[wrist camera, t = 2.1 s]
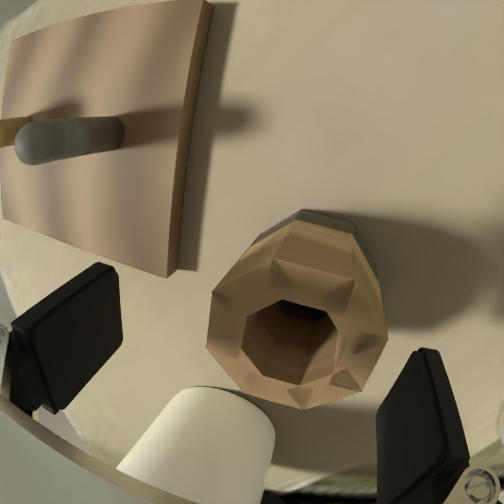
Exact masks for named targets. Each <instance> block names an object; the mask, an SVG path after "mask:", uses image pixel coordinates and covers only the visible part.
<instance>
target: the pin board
mask: <svg viewBox="0 0 504 504" xmlns="http://www.w3.org/2000/svg"><path fill="white" fill-rule="evenodd" d="M212 11H213V6H212V5H211V4H210V3H208V2H207V1H206V0H176V1H166V2H157V3H150V4H143V5H136V6H130V7H125V8H119V9H114V10H109V11H105V12H100V13H96V14H92V15H88V16H84V17H80V18H76V19H73V20H69V21H66V22H62V23H59V24H56V25H53V26H50V27H47V28H44V29H41V30H38V31H35V32H33V33H30V34H27V35H25V36H22V37H19V38H17V39H14V40H12V44H11V49H10V54H9V60H8V66H7V72H6V79H5V87H4V95H3V105H2V117H1V119H0V181H1V200H2V212H3V218H4V219H6V220H8V221H11V222H13V223H16V224H18V225H21V226H23V227H26V228H28V229H31V230H33V231H36V232H38V233H41V234H43V235H46V236H48V237H51V238H54V239H56V240H59V241H62V242H64V243H67V244H69V245H72V246H75V247H78V248H80V249H83V250H86V251H88V252H91V253H94V254H97V255H99V256H102V257H105V258H108V259H111V260H113V261H116V262H119V263H122V264H125V265H128V266H131V267H133V268H136V269H139V270H142V271H145V272H148V273H151V274H154V275H157V276H160V277H163V278H166V279H167V278H168V277H169V276H170V275H171V274H173V273H174V272H175V271H176V270H177V265H178V251H179V238H180V226H181V215H182V205H183V195H184V185H185V176H186V168H187V160H188V152H189V144H190V136H191V129H192V122H193V115H194V109H195V102H196V96H197V90H198V84H199V78H200V72H201V67H202V61H203V56H204V50H205V45H206V40H207V35H208V30H209V25H210V21H211V16H212Z"/></svg>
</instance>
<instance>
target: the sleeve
mask: <svg viewBox="0 0 504 504" xmlns="http://www.w3.org/2000/svg"><path fill="white" fill-rule="evenodd" d="M387 341H388V333H387V326H386V320H385V314H384V308H383V302H382V296H381V291H380V285H379V280H378V275H377V270H376V265H375V263H374V262H373V260H372V258H371V256H370V254H369V253H368V251H367V249H366V247H365V245H364V244H363V242H362V240H361V238H360V237H359V235H358V233H357V231H356V230H355V228H354V226H353V225H352V222H348V221H344V220H340V219H337V218H333V217H329V216H325V215H321V214H317V213H313V212H309V211H305V210H300V211H298V212H297V213H295V214H293V215H292V216H290V217H288V218H287V219H285V220H283V221H282V222H280V223H278V224H277V225H275V226H273V227H272V228H270V229H268V230H267V231H265V232H263V233H262V234H260V235H259V236H258V237H257V238H256V240H255V241H254V242H253V243H252V244H251V246H250V247H249V248H248V249H247V250H246V252H245V253H244V254H243V255H242V256H241V258H240V259H239V260H238V261H237V262H236V263H235V265H234V266H233V267H232V268H231V269H230V271H229V272H228V273H227V274H226V275H225V277H224V278H223V279H222V280H221V281H220V283H219V284H218V285H217V286H216V287H215V289H214V290H213V291H212V300H211V308H210V317H209V326H208V335H207V344H206V349H208V351H209V352H210V353H211V354H212V356H213V357H214V358H215V359H216V361H217V362H218V363H219V364H220V365H221V367H222V368H223V369H224V370H225V371H226V373H227V374H228V375H229V376H230V377H231V379H232V380H233V381H234V382H235V383H236V384H237V386H238V387H239V388H240V389H241V390H242V391H243V393H244V394H245V393H246V394H249V395H252V396H256V397H259V398H262V399H266V400H269V401H272V402H276V403H279V404H283V405H287V406H290V407H294V408H298V409H302V410H305V409H309V408H312V407H315V406H319V405H322V404H325V403H328V402H331V401H335V400H338V399H341V398H344V397H347V396H350V395H352V394H355V393H358V392H361V391H362V389H363V387H364V386H365V384H366V382H367V380H368V378H369V376H370V374H371V372H372V371H373V369H374V367H375V365H376V363H377V361H378V359H379V357H380V355H381V353H382V351H383V349H384V347H385V345H386V343H387Z"/></svg>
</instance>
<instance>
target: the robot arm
mask: <svg viewBox="0 0 504 504" xmlns="http://www.w3.org/2000/svg"><path fill="white" fill-rule="evenodd" d="M11 326H12V329H13V330H12V331H11V332H10V333H9V331H8V329H7V327H6V326H4V325H3V324H1V323H0V504H199V503H196V502H193V501H190V500H187V499H185V498H182V497H179V496H176V495H174V494H171V493H169V492H166V491H164V490H161V489H159V488H156V487H154V486H152V485H149V484H147V483H145V482H142V481H140V480H138V479H136V478H134V477H131V476H129V475H127V474H125V473H123V472H121V471H119V470H117V469H115V468H113V467H111V466H109V465H107V464H105V463H104V462H102V461H100V460H98V459H96V458H94V457H93V456H91V455H89V454H87V453H85V452H84V451H82V450H80V449H78V448H77V447H75V446H74V445H72V444H70V443H69V442H67V441H66V440H64V439H62V438H61V437H59V436H58V435H56V434H54V433H53V432H52V431H50V430H49V429H47V428H46V427H44V426H43V425H41V424H40V423H38V408H39V407H40V406H41V405H42V406H43V408H45V409H46V410H48V411H49V412H51V413H52V414H54V415H55V414H56V413H57V412H58V411H59V410H60V409H61V410H63V409H65V408H66V407H67V406H68V405H69V404H70V402H71V401H72V400H73V399H74V398H75V397H76V396H77V394H78V393H79V392H80V391H81V390H82V389H83V388H84V386H85V385H86V384H87V383H88V382H89V381H90V380H91V378H92V377H93V376H94V375H95V374H96V373H97V372H98V371H99V369H100V368H101V367H102V366H103V365H104V364H105V363H106V362H107V360H108V359H109V358H110V357H111V356H112V355H113V354H114V353H115V352H116V350H117V349H118V348H119V347H120V346H121V344H122V341H123V331H122V320H121V307H120V291H119V276H118V273H117V272H116V271H115V268H114V267H113V266H110V265H107V264H104V263H101V262H97V263H95V264H93V265H92V266H90V267H89V268H87V269H86V270H84V271H83V272H81V273H80V274H78V275H77V276H75V277H74V278H72V279H71V280H69V281H68V282H67V283H65V284H64V285H62V286H61V287H59V288H58V289H56V290H55V291H54V292H52V293H51V294H49V295H48V296H47V297H45V298H44V299H42V300H41V301H40V302H38V303H37V304H35V305H34V306H33V307H31V308H30V309H29V310H27V311H26V312H25V313H23V314H22V315H21V316H19V317H18V318H17V319H15V320H14V321H13V322H11ZM499 434H500V438H501V442H502V444H503V445H504V409H503V411H502V413H501V416H500V420H499ZM376 435H377V504H502V503H501V502H500V501H499V500H498V498H499V494H500V483H499V480H498V477H497V476H496V474H495V473H494V472H493V471H492V470H491V469H490V468H488V467H487V466H485V465H480V464H476V465H471V466H469V461H468V460H469V459H470V455H469V451H468V446H467V442H466V438H465V434H464V430H463V426H462V423H461V419H460V415H459V412H458V408H457V405H456V402H455V398H454V395H453V392H452V388H451V385H450V382H449V379H448V376H447V373H446V370H445V367H444V364H443V361H442V359H441V356H440V353H439V351H437V350H434V349H428V348H423V347H421V348H419V349H418V351H413V352H412V354H411V355H410V357H409V359H408V361H407V363H406V364H405V366H404V368H403V370H402V371H401V373H400V375H399V377H398V378H397V380H396V382H395V383H394V385H393V387H392V388H391V390H390V391H389V393H388V395H387V396H386V398H385V399H384V401H383V403H382V404H381V406H380V407H379V409H378V411H377V414H376Z"/></svg>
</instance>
